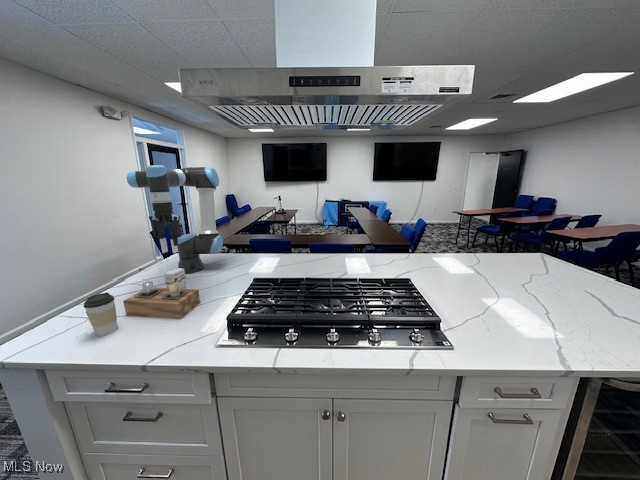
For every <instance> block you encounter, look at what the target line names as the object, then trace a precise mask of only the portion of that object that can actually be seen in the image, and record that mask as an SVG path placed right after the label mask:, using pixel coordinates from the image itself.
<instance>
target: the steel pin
mask: <svg viewBox="0 0 640 480" xmlns="http://www.w3.org/2000/svg"><path fill="white" fill-rule="evenodd" d="M141 286H142V290H143V292H144V296H151V295H153V294H154V293H155V292H154V287H155V286H154V283H153V281H145V282H143V283H141Z"/></svg>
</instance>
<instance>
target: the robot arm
mask: <svg viewBox="0 0 640 480" xmlns="http://www.w3.org/2000/svg"><path fill="white" fill-rule="evenodd" d="M126 182H127V184H128V185H129V187H132V188H133V189H135V188H136V189H137V188H138V189H144V188H146V189H147V188H148V191H149V196H150V201H151V202H152V203H151V206H152V211H153V212H154V214H153V215H150V216H149V215H148V218H149V221H150V223H151V228H152V234H153V238H156V239H158V241H159V242H158V243H159V246H161V253H162V254H165V253H168V252H169V249H168V242H167V238H166V236H165V225H166V227H167V228H168V231H169V234H170V237H171V238H170V244H171V248H172V254H176V253H178V258H179V259H178V260H179V261H178V267H177V268H183V269H184V272H185V275H186V274H193V273H197V272H200V271H203V269H204V268H205V264H204V263H203V260H202V258H201V257H200V255H214V254H219V253H220V252H221V250H222V249H223V243H224V242H223V239H224V238H223V236H221V235H220V233H219V231H217V226H216V224H217V223H216V222H217V221H216V209H215V194H214V193H215V192H216V190H217V187H219V185H220V178H219V174H218V173H217V170H216V169H215V168H214V167H209V166H208V167H207V166H203V167H202V166H198V167H193V166H192V167H183V168H175V169H171V170H167V167H166V166H165V165H161V164H159V165H158V164H157V165H155V164H154V165H152V164H151V165H150V164H149V165H146V166H145V170H139V171H138V170H134V171H133V170H132V171H129V172H128V173H127V174H126ZM181 186H182V187H190V188H193V187H195V190H196V191H197V192H198V201H199V203H198V204H199V213H200V214H199V215H200V229H201V230H200V231H199V232H198V234H197V233H195V232H194V233H187V234H183V235H182V231H181V224H180V219H181V217H180V215H175V214H174V212H173V210H174V209H173V202H172V194H171V190H170V188H177V187H181Z"/></svg>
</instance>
